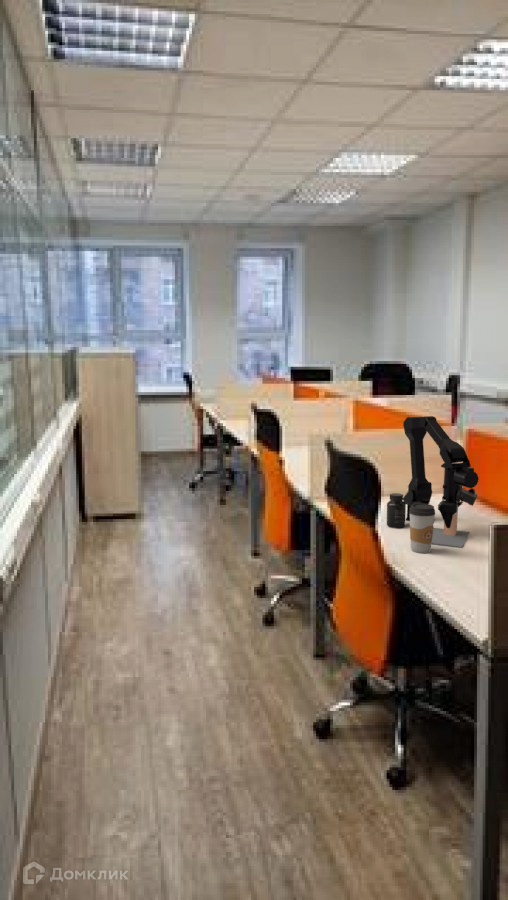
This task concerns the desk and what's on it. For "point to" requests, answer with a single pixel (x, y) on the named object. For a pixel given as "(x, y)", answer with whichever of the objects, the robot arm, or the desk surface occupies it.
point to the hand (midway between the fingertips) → (450, 525)
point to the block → (453, 527)
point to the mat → (449, 538)
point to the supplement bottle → (396, 511)
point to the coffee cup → (421, 527)
